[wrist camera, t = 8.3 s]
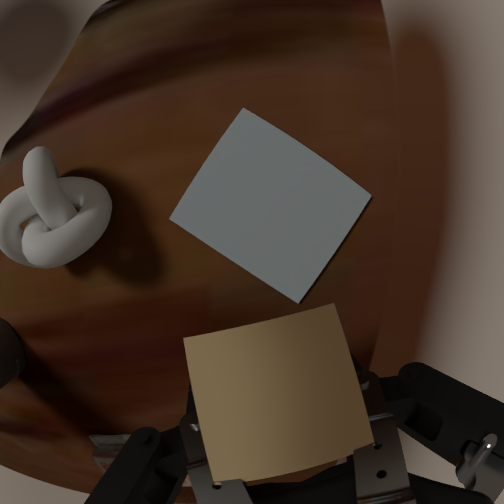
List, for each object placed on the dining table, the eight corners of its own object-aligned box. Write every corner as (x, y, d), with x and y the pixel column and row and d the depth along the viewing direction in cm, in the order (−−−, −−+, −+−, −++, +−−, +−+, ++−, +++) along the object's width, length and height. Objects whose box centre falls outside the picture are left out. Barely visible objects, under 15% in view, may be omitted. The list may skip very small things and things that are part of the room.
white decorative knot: (79, 293, 27) (28, 321, 18) (24, 219, 26) (-29, 226, 17) (137, 216, 26) (85, 223, 17) (72, 142, 24) (17, 127, 16)
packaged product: (115, 491, 28) (77, 451, 26) (124, 472, 33) (91, 431, 31) (219, 495, 26) (185, 453, 25) (223, 470, 31) (193, 427, 30)
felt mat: (170, 218, 25) (169, 218, 25) (243, 109, 24) (243, 107, 23) (297, 302, 26) (298, 303, 26) (370, 195, 25) (371, 195, 24)
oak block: (249, 434, 15) (214, 485, 5) (235, 374, 17) (183, 338, 7) (314, 418, 15) (375, 445, 5) (298, 359, 17) (333, 303, 7)
